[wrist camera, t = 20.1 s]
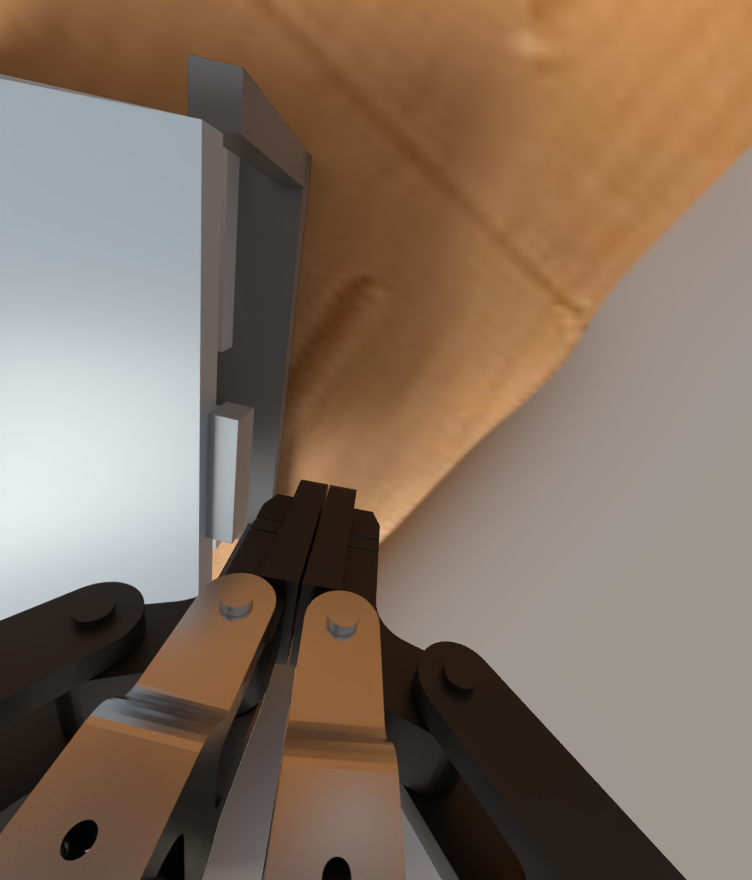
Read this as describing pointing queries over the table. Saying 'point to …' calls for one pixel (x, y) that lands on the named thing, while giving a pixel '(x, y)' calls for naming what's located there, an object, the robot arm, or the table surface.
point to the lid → (111, 351)
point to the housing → (251, 255)
